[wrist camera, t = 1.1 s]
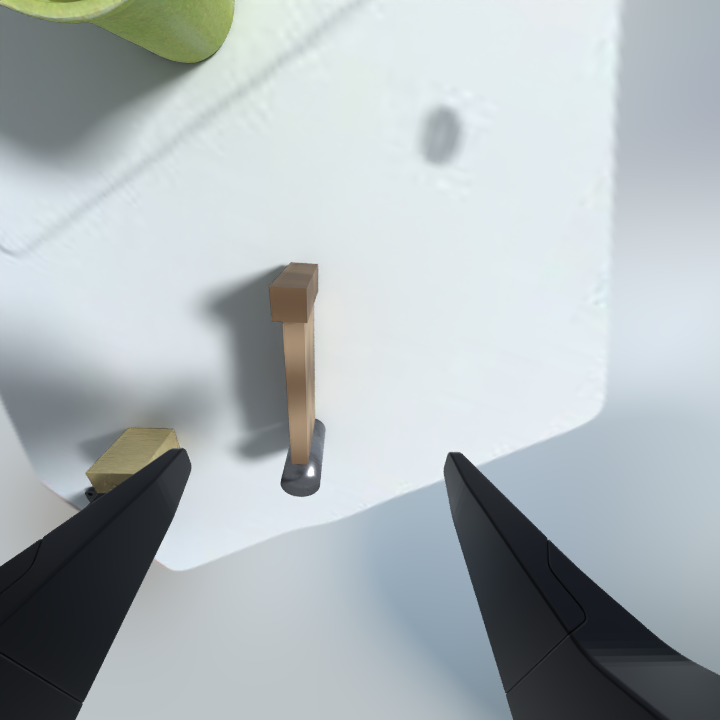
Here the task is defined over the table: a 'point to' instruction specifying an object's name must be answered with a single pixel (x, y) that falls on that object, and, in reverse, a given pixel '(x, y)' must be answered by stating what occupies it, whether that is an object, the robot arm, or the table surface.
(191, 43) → the plant pot
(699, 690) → the robot arm
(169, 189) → the table surface
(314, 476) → the grey metal cylinder
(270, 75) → the table surface
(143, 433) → the block
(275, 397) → the table surface
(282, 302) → the wooden t-bar
